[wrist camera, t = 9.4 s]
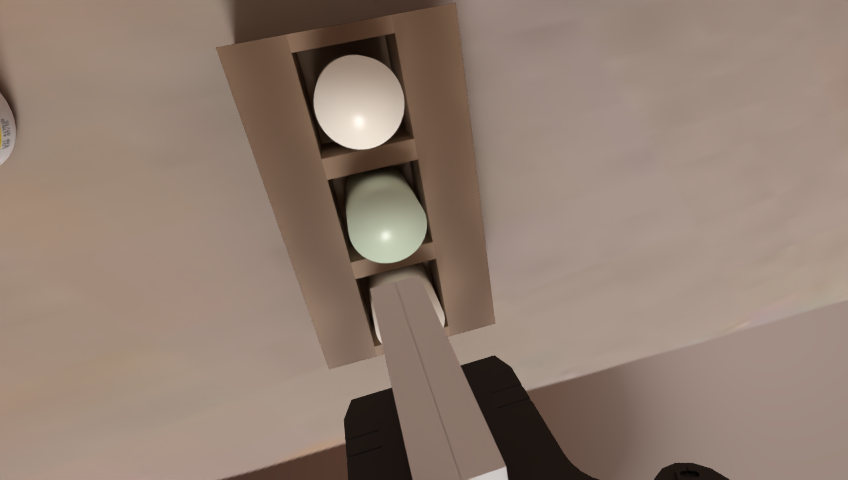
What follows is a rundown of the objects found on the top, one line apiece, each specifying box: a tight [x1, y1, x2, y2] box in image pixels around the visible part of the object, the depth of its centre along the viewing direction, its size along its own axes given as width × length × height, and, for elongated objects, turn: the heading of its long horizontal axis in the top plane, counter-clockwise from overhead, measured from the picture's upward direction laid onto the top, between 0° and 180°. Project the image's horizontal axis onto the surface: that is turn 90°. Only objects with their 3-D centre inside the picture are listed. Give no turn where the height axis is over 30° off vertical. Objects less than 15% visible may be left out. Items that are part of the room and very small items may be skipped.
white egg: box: [314, 54, 404, 149], centre depth 20 cm, size 4×4×5 cm
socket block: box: [216, 3, 495, 369], centre depth 23 cm, size 10×17×4 cm, turn 10°
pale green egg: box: [344, 165, 427, 263], centre depth 22 cm, size 4×4×5 cm
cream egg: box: [367, 262, 445, 344], centre depth 24 cm, size 4×4×5 cm
